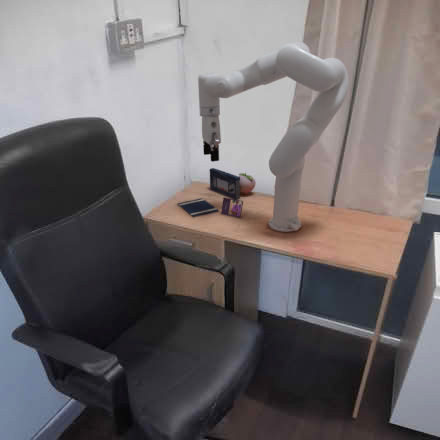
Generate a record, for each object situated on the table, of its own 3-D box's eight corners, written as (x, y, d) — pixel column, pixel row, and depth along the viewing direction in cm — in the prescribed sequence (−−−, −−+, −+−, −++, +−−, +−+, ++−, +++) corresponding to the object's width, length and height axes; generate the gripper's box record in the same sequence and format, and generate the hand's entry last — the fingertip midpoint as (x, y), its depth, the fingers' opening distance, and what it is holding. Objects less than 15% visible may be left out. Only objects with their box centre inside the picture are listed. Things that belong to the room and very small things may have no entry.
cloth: (218, 211, 178) (218, 210, 178) (193, 216, 173) (193, 216, 173) (201, 199, 189) (201, 198, 189) (177, 204, 185) (177, 203, 185)
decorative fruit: (231, 194, 194) (231, 173, 188) (242, 189, 199) (242, 168, 193) (247, 199, 189) (248, 177, 183) (258, 193, 194) (259, 172, 188)
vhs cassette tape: (209, 189, 200) (209, 168, 194) (214, 187, 201) (214, 167, 196) (235, 200, 188) (235, 178, 182) (240, 198, 189) (240, 177, 184)
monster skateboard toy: (222, 197, 173) (242, 201, 169) (228, 197, 177) (247, 201, 174) (220, 213, 175) (239, 217, 171) (225, 213, 179) (244, 217, 176)
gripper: (226, 114, 148) (227, 162, 158) (212, 106, 162) (213, 151, 172) (206, 116, 147) (208, 164, 156) (193, 107, 160) (196, 153, 170)
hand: (211, 157), depth 164 cm, fingers open, 9 cm apart
